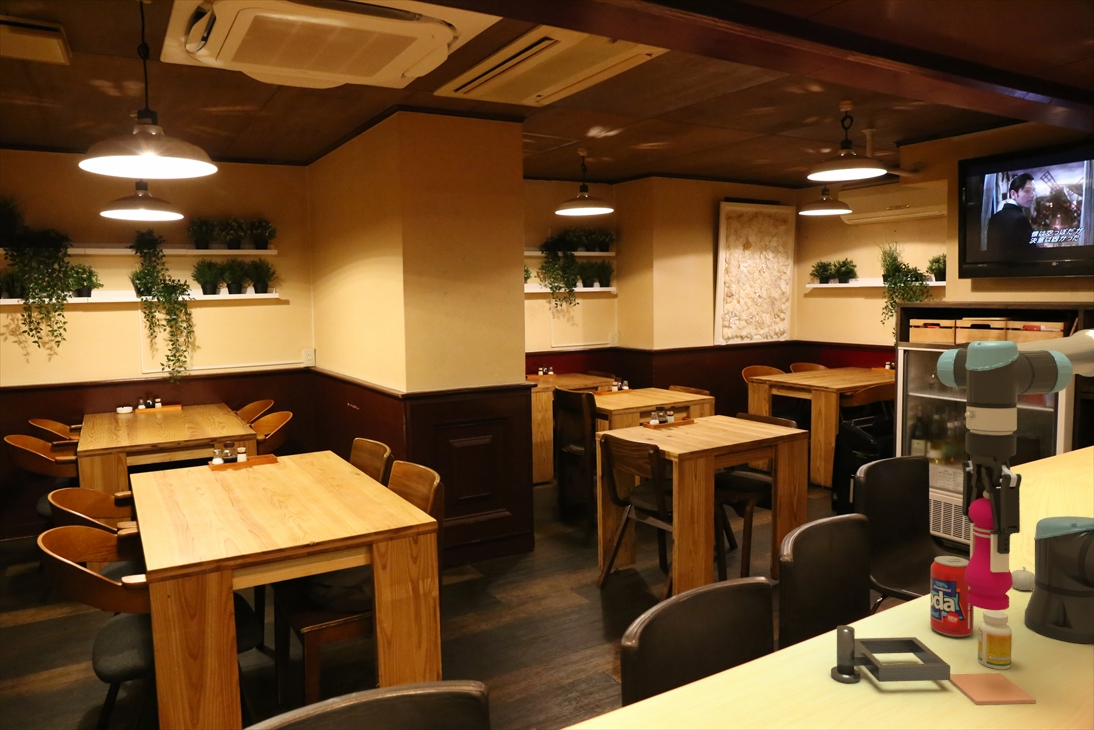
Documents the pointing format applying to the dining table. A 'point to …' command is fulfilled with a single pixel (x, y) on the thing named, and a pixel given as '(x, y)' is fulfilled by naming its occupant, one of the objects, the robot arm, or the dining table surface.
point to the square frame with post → (862, 655)
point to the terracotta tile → (990, 689)
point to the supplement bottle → (994, 640)
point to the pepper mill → (985, 562)
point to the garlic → (1023, 579)
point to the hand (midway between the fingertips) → (989, 565)
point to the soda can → (950, 597)
